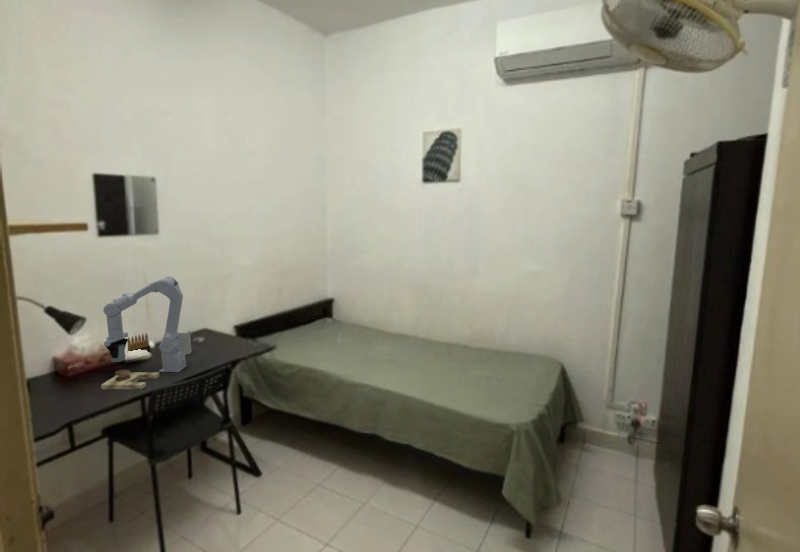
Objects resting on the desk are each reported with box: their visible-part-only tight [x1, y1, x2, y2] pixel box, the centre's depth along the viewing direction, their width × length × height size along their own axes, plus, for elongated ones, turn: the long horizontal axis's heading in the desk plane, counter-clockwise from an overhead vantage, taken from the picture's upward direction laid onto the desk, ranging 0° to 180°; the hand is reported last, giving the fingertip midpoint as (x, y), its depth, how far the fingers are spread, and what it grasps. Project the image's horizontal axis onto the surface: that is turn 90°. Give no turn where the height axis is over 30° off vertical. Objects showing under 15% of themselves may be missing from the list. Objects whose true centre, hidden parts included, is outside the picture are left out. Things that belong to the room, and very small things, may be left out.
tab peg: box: [110, 344, 126, 363], centre depth 200 cm, size 4×4×7 cm
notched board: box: [100, 369, 160, 390], centre depth 189 cm, size 17×14×5 cm
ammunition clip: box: [127, 332, 151, 353], centre depth 220 cm, size 11×2×12 cm, turn 151°
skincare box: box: [177, 330, 192, 356], centre depth 226 cm, size 6×4×12 cm
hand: (118, 356), depth 200 cm, fingers closed on tab peg, 4 cm apart
